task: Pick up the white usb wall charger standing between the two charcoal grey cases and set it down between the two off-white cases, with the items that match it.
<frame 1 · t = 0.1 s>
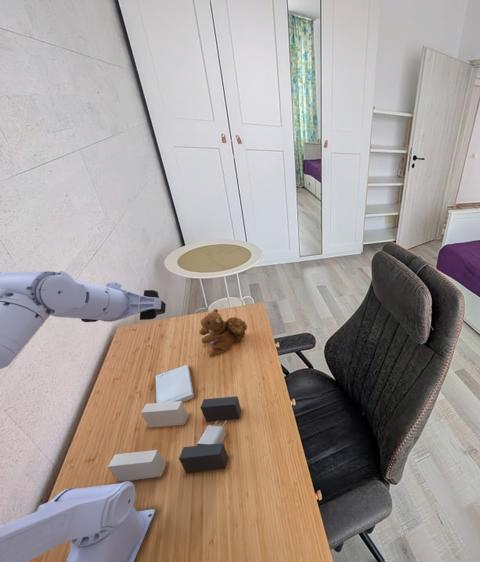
hand: (143, 309, 59), 32 cm above the table, tool tilted 50°, fingers open, 7 cm apart
white cases: (157, 445, 66), on the table
hard drive: (175, 388, 80), on the table
usb wall charger: (217, 439, 68), on the table
stuffed squirrel: (227, 342, 96), on the table
grey cases: (216, 439, 68), on the table
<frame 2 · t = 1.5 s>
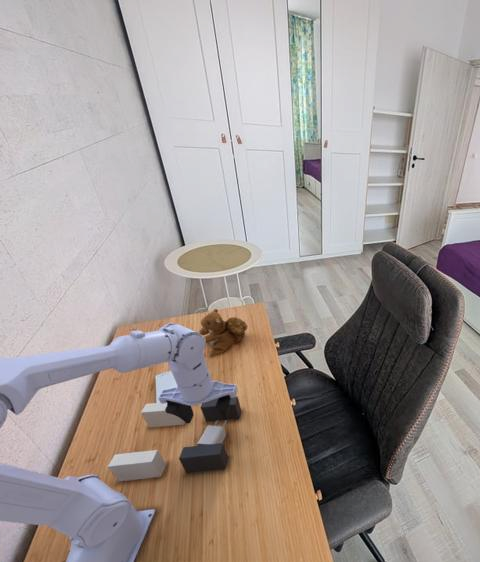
hand: (208, 417, 64), 8 cm above the table, tool pointing down, fingers open, 7 cm apart
nothing on the table moved.
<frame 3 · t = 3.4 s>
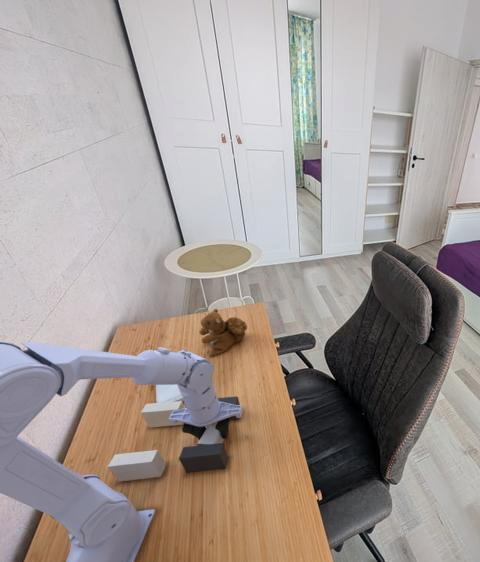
hand: (215, 435, 68), 1 cm above the table, tool pointing down, fingers closed on usb wall charger, 4 cm apart
usb wall charger: (217, 439, 68), on the table, touching gripper
everything else where it was.
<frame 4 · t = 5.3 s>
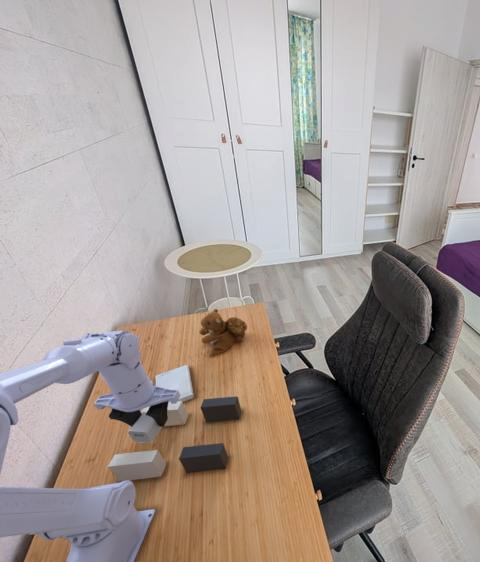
hand: (152, 423, 62), 8 cm above the table, tool pointing down, fingers closed on usb wall charger, 4 cm apart
usb wall charger: (155, 427, 63), point 7 cm above the table, touching gripper
everything else where it was.
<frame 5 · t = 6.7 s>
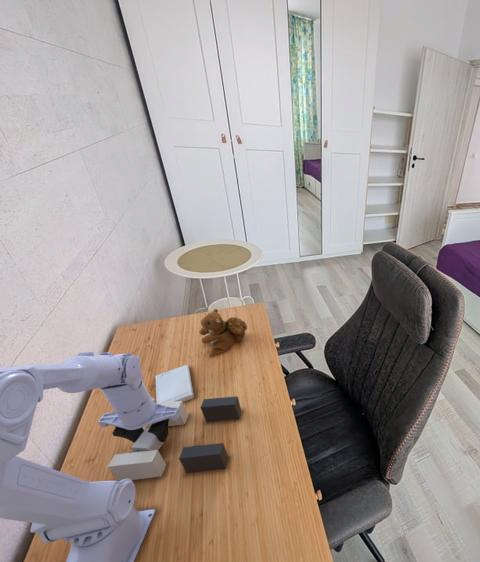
hand: (153, 439, 65), 3 cm above the table, tool pointing down, fingers closed on usb wall charger, 4 cm apart
usb wall charger: (156, 442, 66), point 1 cm above the table, touching gripper
everything else where it was.
when the fingers open (1 cm above the table, at t = 7.5 s): usb wall charger stays where it is, on the table.
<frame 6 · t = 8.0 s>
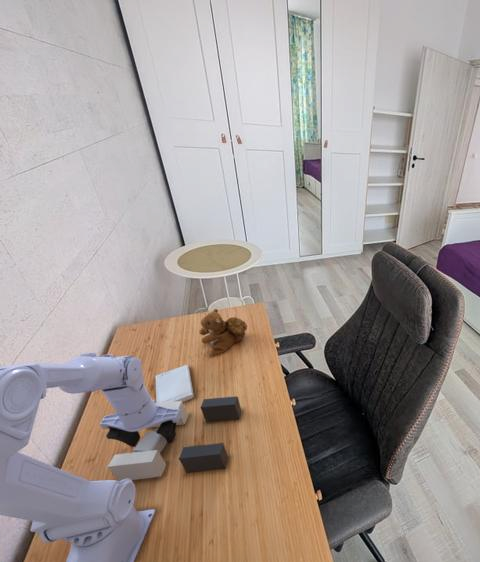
hand: (154, 440, 65), 2 cm above the table, tool pointing down, fingers open, 7 cm apart
usb wall charger: (158, 445, 66), on the table
everything else where it was.
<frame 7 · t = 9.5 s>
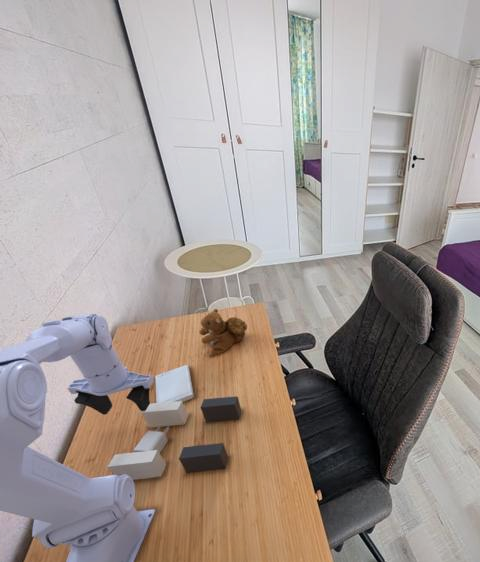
hand: (127, 408, 64), 9 cm above the table, tool pointing down, fingers open, 7 cm apart
nothing on the table moved.
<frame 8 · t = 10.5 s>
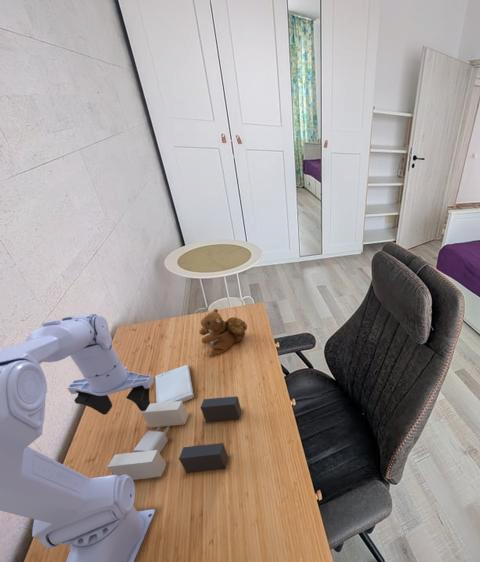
hand: (127, 408, 64), 9 cm above the table, tool pointing down, fingers open, 7 cm apart
nothing on the table moved.
at the end: usb wall charger 0.1 cm from the target spot, on the table; the gripper is holding nothing; usb wall charger tilted 0° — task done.
